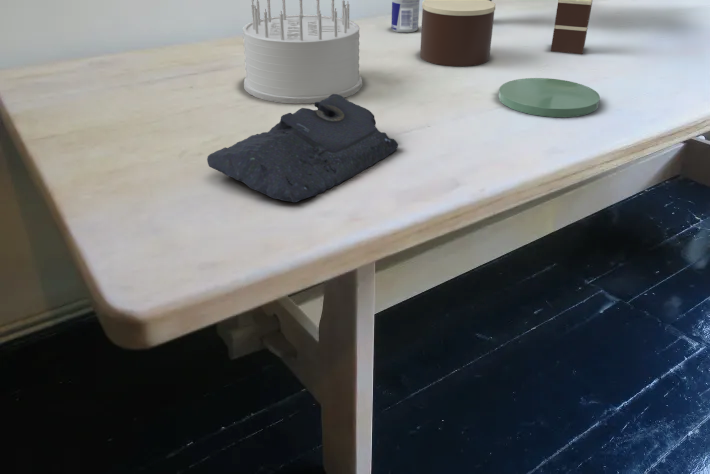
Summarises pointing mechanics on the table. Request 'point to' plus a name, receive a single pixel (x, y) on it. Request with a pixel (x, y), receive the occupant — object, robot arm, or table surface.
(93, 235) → the table surface
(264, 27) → the cake
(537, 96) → the plate
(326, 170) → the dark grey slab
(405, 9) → the energy drink
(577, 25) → the cake slice
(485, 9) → the cake
